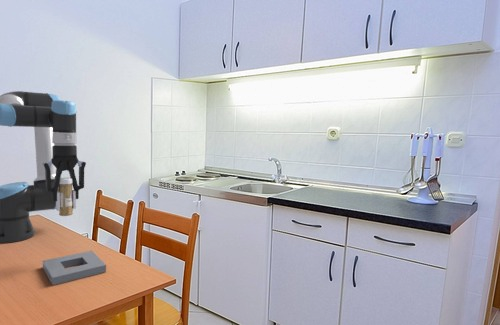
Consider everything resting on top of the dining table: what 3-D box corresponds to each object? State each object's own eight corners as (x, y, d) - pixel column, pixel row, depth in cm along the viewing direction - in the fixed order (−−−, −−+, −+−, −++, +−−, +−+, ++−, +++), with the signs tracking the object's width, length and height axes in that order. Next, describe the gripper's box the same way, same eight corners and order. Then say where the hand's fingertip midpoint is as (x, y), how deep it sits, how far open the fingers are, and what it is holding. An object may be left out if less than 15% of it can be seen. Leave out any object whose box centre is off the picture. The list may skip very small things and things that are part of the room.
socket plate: (42, 267, 113) (42, 260, 112) (91, 256, 123) (91, 250, 123) (52, 285, 101) (52, 277, 100) (106, 271, 111) (106, 264, 111)
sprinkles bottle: (72, 215, 117) (72, 178, 115) (58, 216, 115) (57, 179, 113) (73, 212, 121) (73, 177, 119) (59, 213, 119) (58, 177, 118)
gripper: (37, 145, 107) (39, 214, 109) (94, 145, 118) (94, 207, 120) (33, 144, 112) (35, 210, 114) (87, 144, 124) (88, 204, 126)
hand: (65, 208), depth 117 cm, fingers closed on sprinkles bottle, 4 cm apart
